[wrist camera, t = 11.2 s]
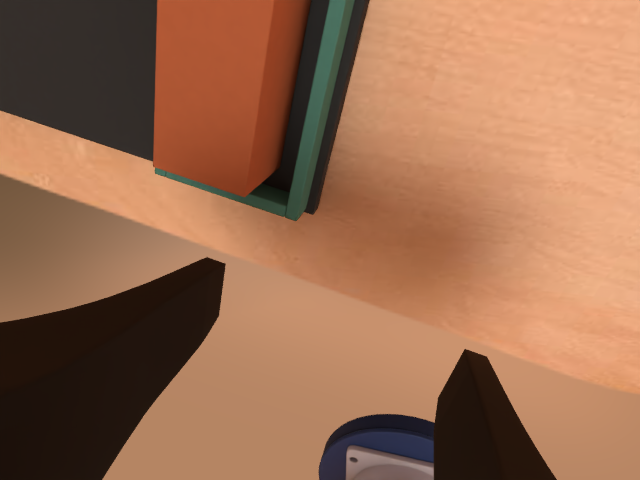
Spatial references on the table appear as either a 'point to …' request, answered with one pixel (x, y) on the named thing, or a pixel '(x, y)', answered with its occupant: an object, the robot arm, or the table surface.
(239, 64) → the pad piece
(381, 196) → the table surface
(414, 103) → the table surface
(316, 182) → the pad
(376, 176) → the table surface
